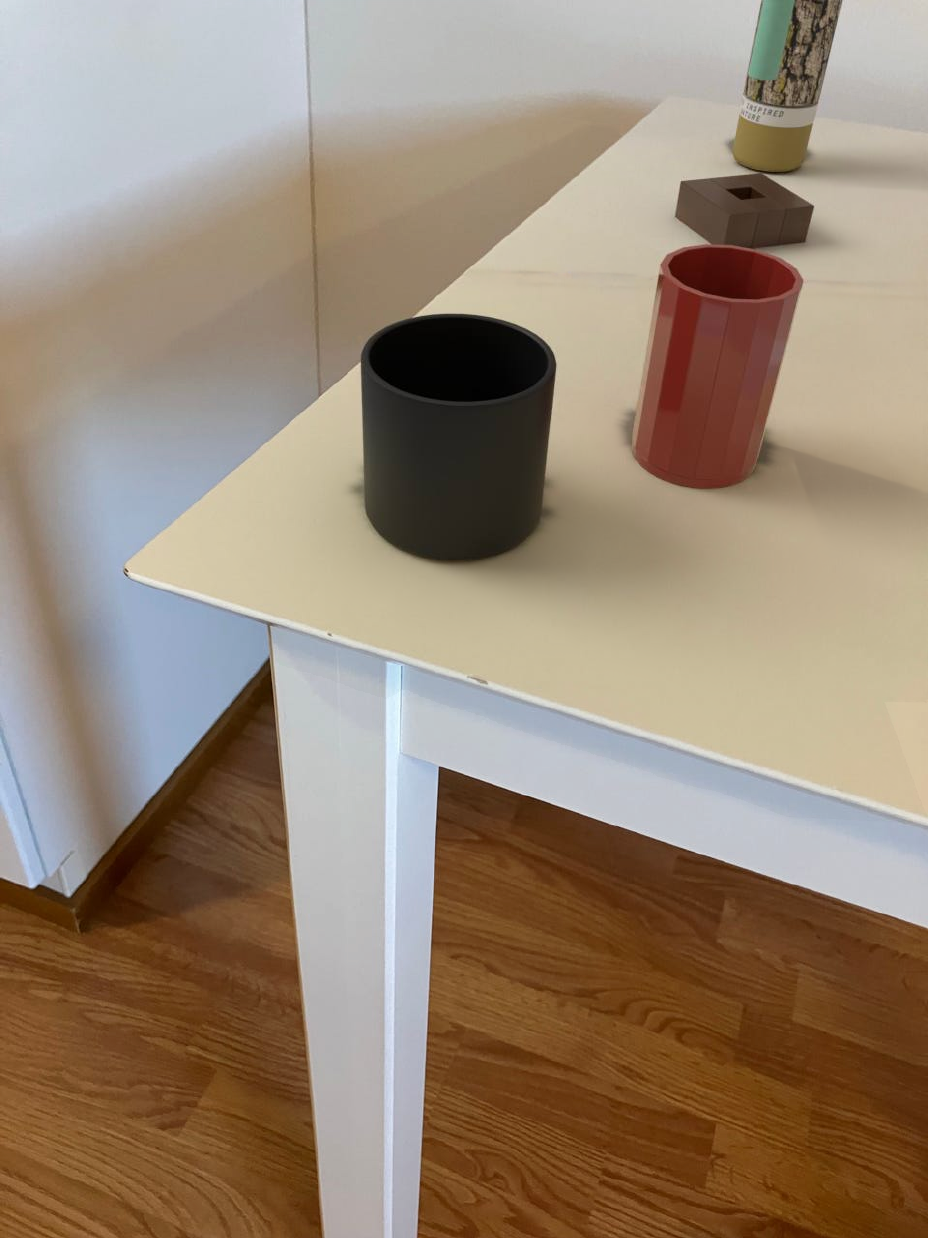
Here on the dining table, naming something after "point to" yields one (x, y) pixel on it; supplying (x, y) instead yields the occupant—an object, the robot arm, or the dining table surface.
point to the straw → (770, 39)
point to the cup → (713, 363)
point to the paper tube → (787, 92)
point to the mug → (455, 433)
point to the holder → (743, 211)
